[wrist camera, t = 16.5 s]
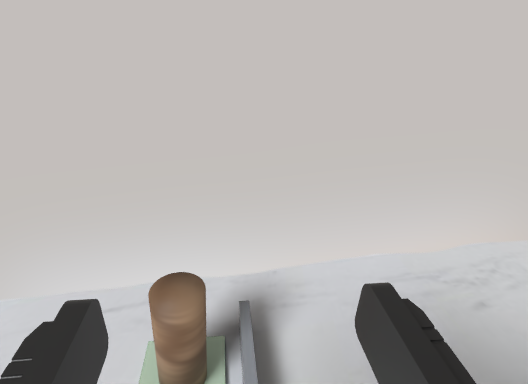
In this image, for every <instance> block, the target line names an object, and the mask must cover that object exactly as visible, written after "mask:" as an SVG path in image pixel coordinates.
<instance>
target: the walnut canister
mask: <svg viewBox="0 0 528 384" xmlns="http://www.w3.org/2000/svg"><path fill="white" fill-rule="evenodd" d="M149 304H150V312H151V320H152V329H153V337H154V345H155V353H156V361H157V369H158V377H159V384H204V383H205V380H206V377H207V347H206V288H205V284H204V282H203V280H202V279H201V278H200V277H198V276H196V275H194V274H191V273H186V272H178V273H172V274H168V275H166V276H164V277H162V278H160V279H158V280H157V281H156V282H155V283H154V284H153V285H152V287H151V288H150V291H149Z"/></svg>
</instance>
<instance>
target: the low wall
mask: <svg viewBox="0 0 528 384" xmlns="http://www.w3.org/2000/svg"><path fill="white" fill-rule="evenodd" d="M239 330H240V345H241V360H242V376H243V384H258V380H257V371H256V361H255V352H254V343H253V333H252V324H251V315H250V306H249V301H239Z"/></svg>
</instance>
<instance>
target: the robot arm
mask: <svg viewBox="0 0 528 384" xmlns="http://www.w3.org/2000/svg"><path fill="white" fill-rule="evenodd" d="M355 328H356V333H357V336H358V339H359V341H360V343H361V346H362V348H363V350H364V352H365V354H366V357H367V359H368V361H369V363H370V365H371V368H372V370H373V372H374V374H375V376H376V379H377V381H378V383H379V384H476V383H475V381H474V380H473V378H472V377H471V376H470V374H469V373H468V372H467V370H466V369H465V368H464V366H463V365H462V363H461V362H460V361H459V359H458V358H457V357H456V355H455V354H454V353H453V351H452V350H451V348H450V347H449V346H448V344H447V343H445V342H444V339H443V338H442V336H441V335H440V333H439V332H438V331H437V329H436V330H435V328H434V325H433V324H432V322H431V321H430V320H429V318H428V317H427V316H426V314H425V313H424V312H423V311H422V310H421V309H420V308H419V307H417V306H416V305H415V304H414V303H412V302H411V301H410V300H409V299H401V297H400V296H399V294H398V293H397V292H396V290H395V289H394V287H393V286H392V285H391V284H390V283H373V284H365V285H364V286H363V288H362V291H361V295H360V300H359V304H358V308H357V312H356V316H355ZM107 350H108V333H107V329H106V326H105V322H104V318H103V314H102V310H101V307H100V303H99V301H98V300H97V299H87V300H70V301H66V302H65V303H64V304H63V306H62V307H61V309H60V311H59V313H58V314H57V316H56V318H55V320H54V321H51V322H43V323H42V324H41V325H40V326H39V327H37V328H36V329H35V330H34V331H33V332H32V333H31V334H30V335H29V336H27V337H26V338H25V339H24V341H23V342H22V344H21V345H20V347H19V349H18V350H17V352H16V353H15V355H14V356H13V358H12V362H11V363H9V364H8V366H7V367H6V369H5V370H4V372H3V373H2V375H1V379H0V384H97V381H98V378H99V376H100V373H101V370H102V367H103V364H104V361H105V358H106V355H107Z"/></svg>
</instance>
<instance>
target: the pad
mask: <svg viewBox="0 0 528 384" xmlns="http://www.w3.org/2000/svg"><path fill="white" fill-rule="evenodd" d="M206 347H207V377H206V380H205V383H204V384H225V336H214V337H206ZM139 384H159V377H158V369H157V361H156V353H155V345H154V341H149V342H148V346H147V350H146V354H145V359H144V363H143V367H142V371H141V376H140V380H139Z"/></svg>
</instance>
